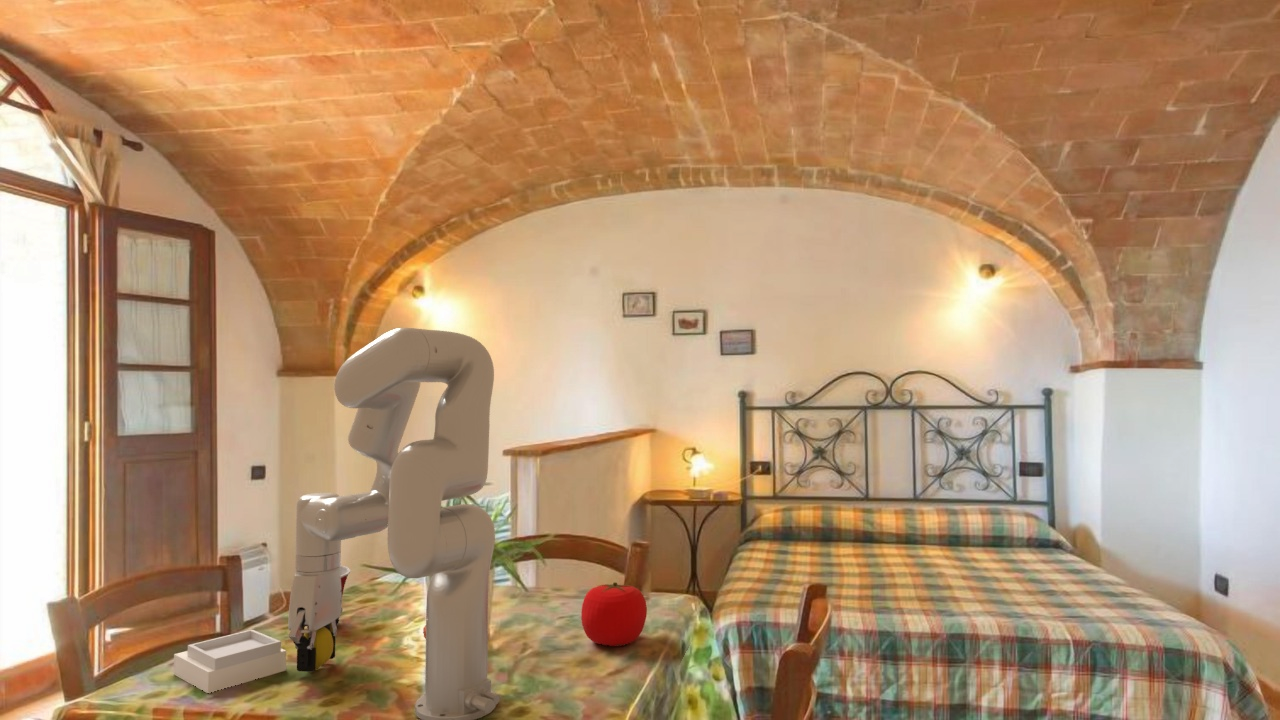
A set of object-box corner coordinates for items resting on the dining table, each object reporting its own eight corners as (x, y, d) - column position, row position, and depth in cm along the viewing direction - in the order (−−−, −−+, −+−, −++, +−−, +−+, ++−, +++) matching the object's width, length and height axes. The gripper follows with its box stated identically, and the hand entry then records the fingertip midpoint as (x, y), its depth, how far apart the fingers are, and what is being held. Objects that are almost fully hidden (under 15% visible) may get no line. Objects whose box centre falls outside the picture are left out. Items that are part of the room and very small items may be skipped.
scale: (285, 670, 132) (286, 639, 132) (207, 693, 121) (208, 660, 122) (249, 653, 140) (249, 624, 140) (173, 674, 130) (174, 643, 130)
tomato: (571, 651, 142) (572, 589, 142) (593, 629, 155) (593, 573, 155) (636, 656, 138) (636, 594, 139) (652, 633, 152) (652, 576, 152)
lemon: (320, 676, 129) (321, 630, 129) (292, 674, 130) (293, 628, 130) (339, 665, 134) (340, 620, 135) (312, 663, 135) (313, 619, 136)
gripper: (325, 551, 142) (323, 647, 141) (269, 573, 125) (266, 681, 124) (361, 553, 141) (360, 648, 140) (310, 574, 124) (308, 684, 123)
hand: (316, 663), depth 132 cm, fingers closed on lemon, 5 cm apart
